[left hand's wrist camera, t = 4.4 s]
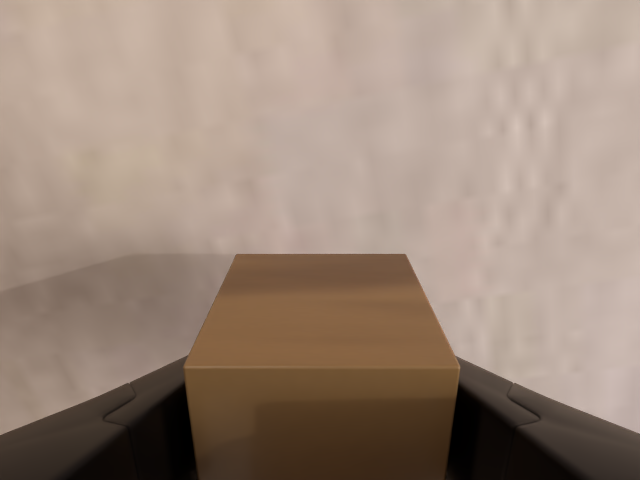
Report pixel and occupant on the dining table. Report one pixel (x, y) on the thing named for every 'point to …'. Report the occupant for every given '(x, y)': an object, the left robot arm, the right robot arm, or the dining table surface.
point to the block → (321, 373)
